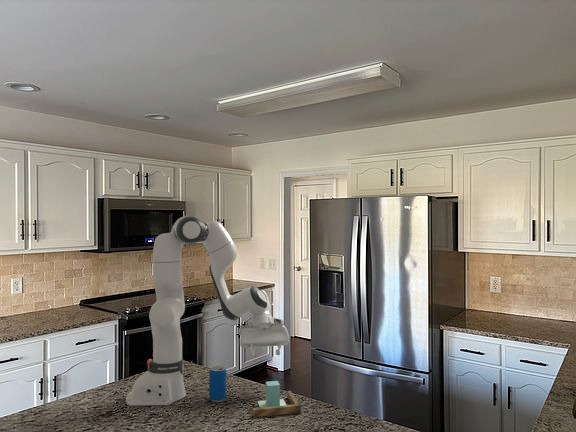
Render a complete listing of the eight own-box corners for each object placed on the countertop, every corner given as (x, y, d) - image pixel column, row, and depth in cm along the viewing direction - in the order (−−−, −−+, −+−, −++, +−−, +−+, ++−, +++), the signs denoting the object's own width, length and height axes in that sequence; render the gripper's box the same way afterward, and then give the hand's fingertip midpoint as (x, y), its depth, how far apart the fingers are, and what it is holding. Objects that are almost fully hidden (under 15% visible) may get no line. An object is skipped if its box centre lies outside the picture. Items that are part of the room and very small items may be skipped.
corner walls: (253, 417, 157) (253, 410, 157) (247, 400, 172) (247, 394, 172) (300, 412, 161) (300, 405, 161) (290, 397, 175) (290, 390, 176)
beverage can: (222, 403, 169) (223, 371, 169) (206, 402, 170) (206, 370, 171) (228, 397, 175) (228, 366, 176) (212, 395, 177) (213, 365, 177)
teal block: (267, 407, 165) (267, 385, 165) (265, 403, 169) (265, 381, 169) (279, 406, 166) (279, 384, 166) (277, 402, 170) (277, 380, 170)
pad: (261, 412, 161) (261, 411, 161) (257, 401, 171) (257, 401, 171) (289, 409, 163) (289, 409, 163) (283, 399, 173) (283, 398, 173)
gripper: (238, 322, 185) (241, 352, 175) (287, 319, 189) (292, 349, 180) (237, 330, 189) (239, 360, 179) (284, 328, 194) (289, 357, 184)
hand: (266, 355), depth 179 cm, fingers open, 8 cm apart
